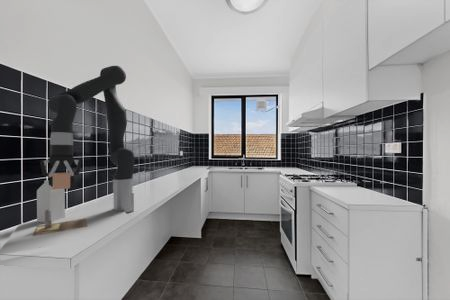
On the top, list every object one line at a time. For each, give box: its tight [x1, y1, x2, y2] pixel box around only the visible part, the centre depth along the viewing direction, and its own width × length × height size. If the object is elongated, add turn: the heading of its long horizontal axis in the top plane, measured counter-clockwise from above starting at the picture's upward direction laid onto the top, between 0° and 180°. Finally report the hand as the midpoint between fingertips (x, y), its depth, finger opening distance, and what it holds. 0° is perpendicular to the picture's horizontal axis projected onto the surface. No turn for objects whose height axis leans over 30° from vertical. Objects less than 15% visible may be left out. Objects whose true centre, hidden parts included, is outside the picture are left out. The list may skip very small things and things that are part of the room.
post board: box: [32, 209, 88, 237], centre depth 90 cm, size 17×13×9 cm
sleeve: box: [53, 172, 71, 190], centre depth 90 cm, size 6×6×6 cm
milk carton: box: [36, 179, 66, 223], centre depth 100 cm, size 7×7×19 cm
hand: (61, 185), depth 90 cm, fingers closed on sleeve, 5 cm apart
